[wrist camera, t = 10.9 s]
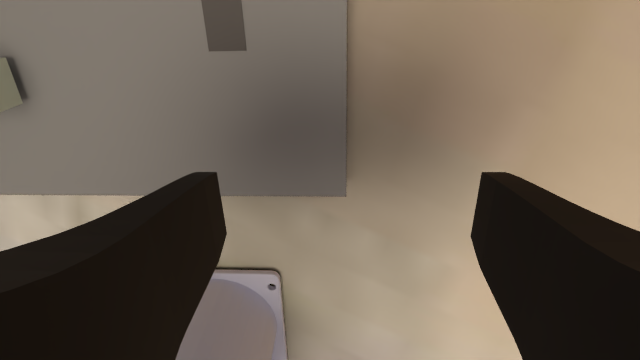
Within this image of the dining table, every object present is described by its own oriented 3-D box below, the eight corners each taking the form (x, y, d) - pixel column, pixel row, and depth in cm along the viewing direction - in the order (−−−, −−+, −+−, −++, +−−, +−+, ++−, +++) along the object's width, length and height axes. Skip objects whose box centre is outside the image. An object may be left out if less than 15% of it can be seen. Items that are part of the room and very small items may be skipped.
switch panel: (346, 180, 21) (346, 197, 19) (-74, 179, 23) (-108, 195, 21) (347, -226, 14) (347, -255, 12) (-268, -187, 16) (-344, -207, 14)
